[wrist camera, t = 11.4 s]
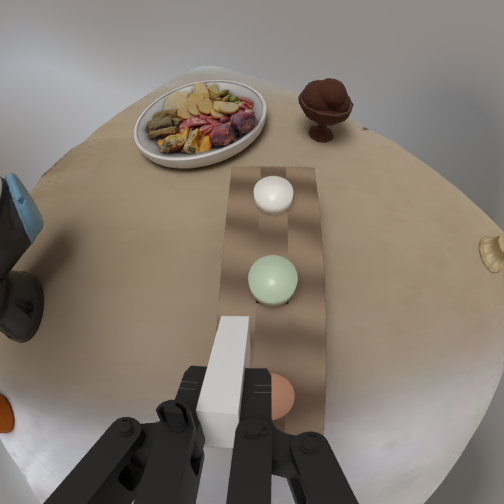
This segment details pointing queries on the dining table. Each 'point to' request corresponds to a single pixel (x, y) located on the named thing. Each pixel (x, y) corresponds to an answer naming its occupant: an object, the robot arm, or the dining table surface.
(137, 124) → the bowl
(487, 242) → the hand bell
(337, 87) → the ice cream bowl
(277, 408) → the terracotta button
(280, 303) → the sage button
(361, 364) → the dining table surface
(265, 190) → the cream button
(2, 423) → the wine bottle
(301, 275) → the console
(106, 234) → the dining table surface
